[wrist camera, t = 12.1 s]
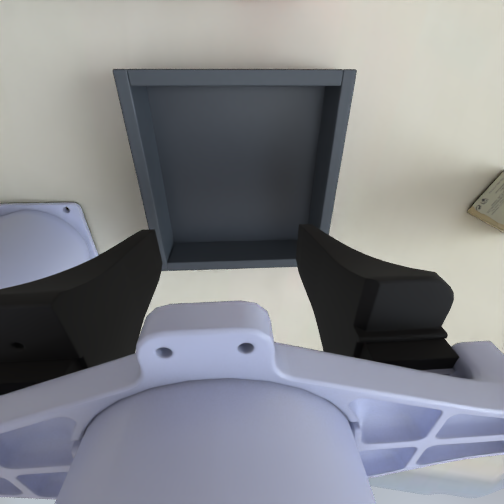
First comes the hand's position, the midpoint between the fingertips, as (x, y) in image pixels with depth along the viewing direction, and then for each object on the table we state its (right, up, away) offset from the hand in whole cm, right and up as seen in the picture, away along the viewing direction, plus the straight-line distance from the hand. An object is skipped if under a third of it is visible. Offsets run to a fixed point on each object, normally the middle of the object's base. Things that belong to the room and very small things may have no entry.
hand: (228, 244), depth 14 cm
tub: (0, +6, +8) cm, 10 cm away
